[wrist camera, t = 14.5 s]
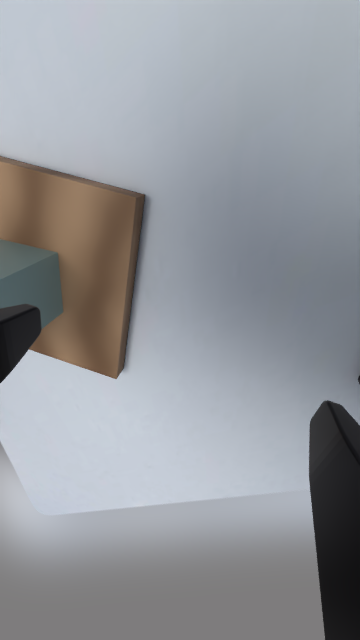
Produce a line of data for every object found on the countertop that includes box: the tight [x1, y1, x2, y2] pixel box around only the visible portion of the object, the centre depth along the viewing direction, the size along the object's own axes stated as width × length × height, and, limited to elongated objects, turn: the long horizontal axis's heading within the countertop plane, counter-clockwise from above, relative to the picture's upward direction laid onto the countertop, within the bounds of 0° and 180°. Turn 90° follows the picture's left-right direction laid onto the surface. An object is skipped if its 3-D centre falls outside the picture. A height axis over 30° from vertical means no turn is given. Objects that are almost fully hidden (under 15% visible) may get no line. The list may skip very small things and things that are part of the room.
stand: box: [0, 156, 145, 379], centre depth 22 cm, size 16×16×5 cm
